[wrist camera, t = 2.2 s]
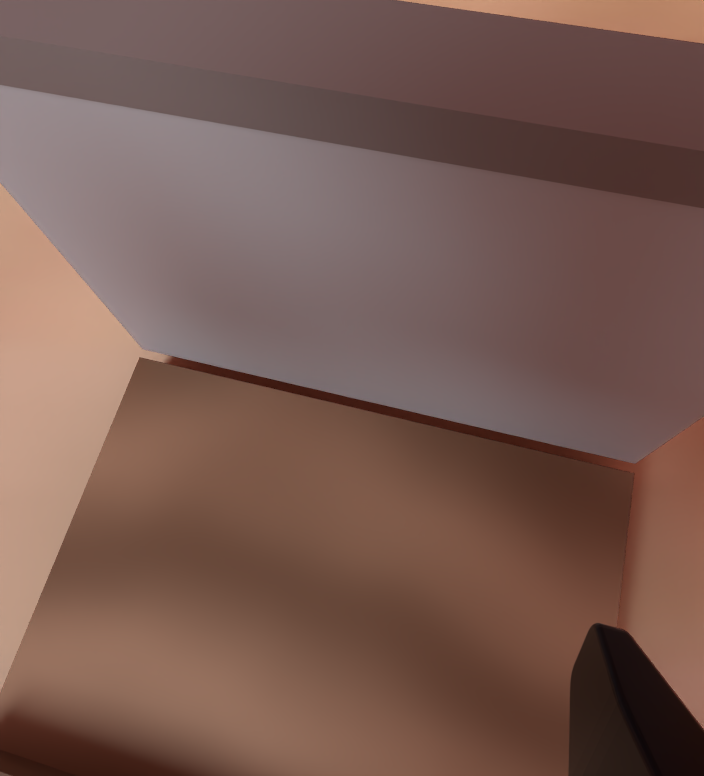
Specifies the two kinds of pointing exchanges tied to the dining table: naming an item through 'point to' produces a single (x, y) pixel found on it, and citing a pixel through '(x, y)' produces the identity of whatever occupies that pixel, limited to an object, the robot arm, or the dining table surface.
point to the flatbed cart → (311, 595)
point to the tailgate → (379, 201)
